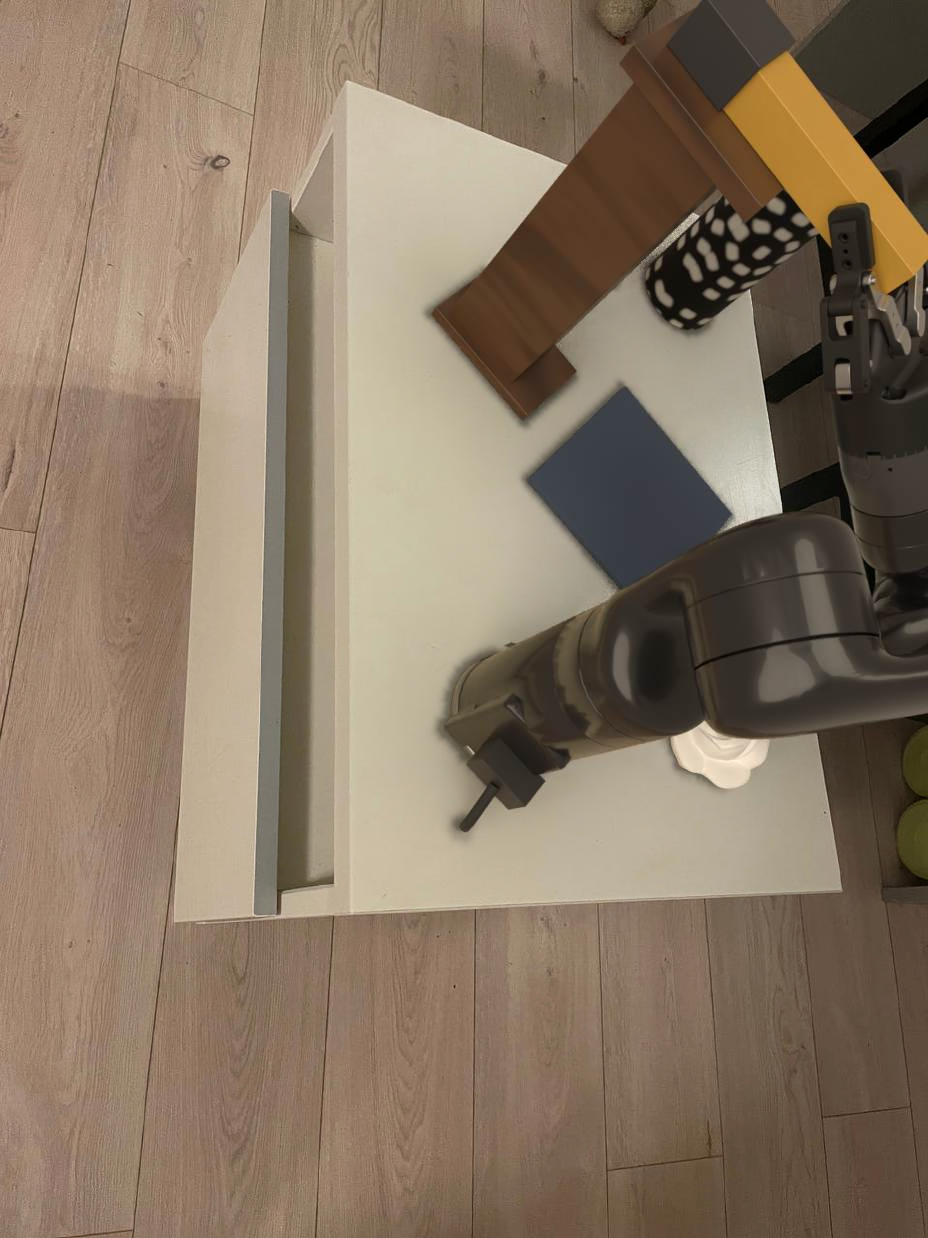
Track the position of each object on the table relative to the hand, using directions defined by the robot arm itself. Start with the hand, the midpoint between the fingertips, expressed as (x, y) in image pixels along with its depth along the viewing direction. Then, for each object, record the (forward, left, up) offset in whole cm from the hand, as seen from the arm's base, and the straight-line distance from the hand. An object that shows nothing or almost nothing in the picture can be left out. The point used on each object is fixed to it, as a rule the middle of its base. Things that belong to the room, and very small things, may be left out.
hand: (866, 188), depth 56 cm
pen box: (0, +4, -3) cm, 5 cm away
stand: (0, +9, -32) cm, 34 cm away
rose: (-11, -28, -32) cm, 44 cm away
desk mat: (0, -9, -32) cm, 33 cm away
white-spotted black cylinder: (+23, +2, -32) cm, 40 cm away
